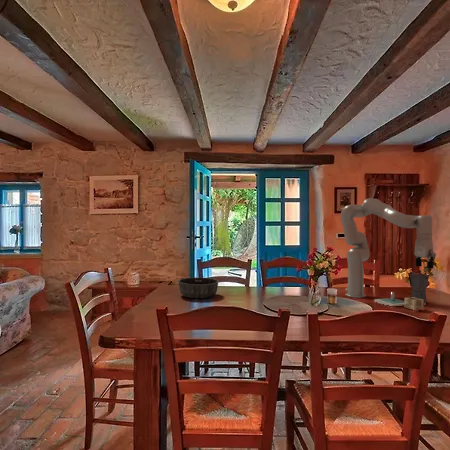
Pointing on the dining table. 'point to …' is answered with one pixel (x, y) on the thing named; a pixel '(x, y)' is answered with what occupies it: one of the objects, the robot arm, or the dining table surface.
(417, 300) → the birch collar
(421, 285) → the moka pot
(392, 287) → the dining table surface
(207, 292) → the bundt pan
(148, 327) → the dining table surface
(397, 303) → the post board
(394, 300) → the steel post
